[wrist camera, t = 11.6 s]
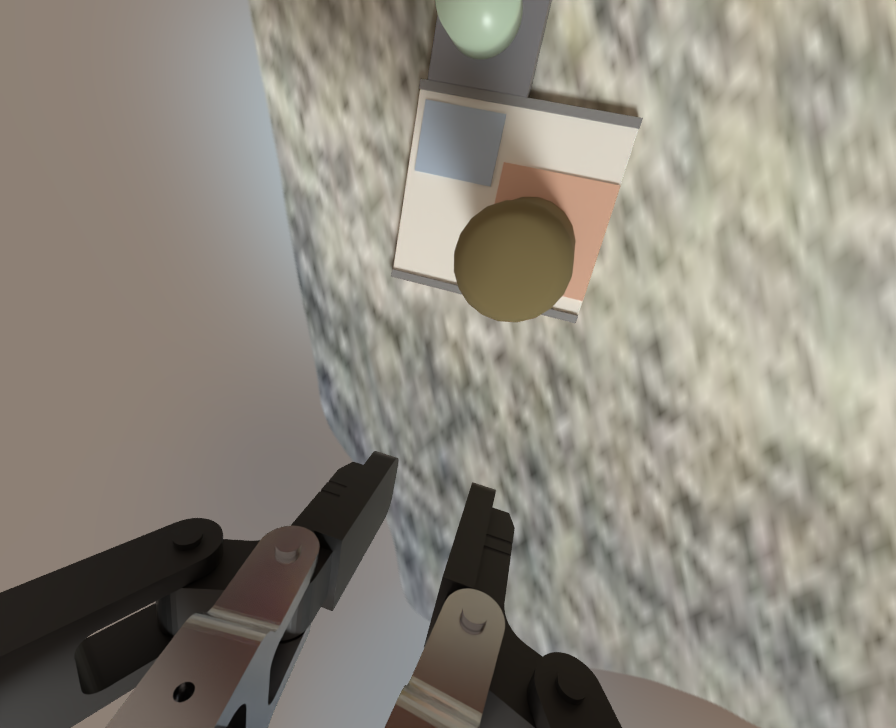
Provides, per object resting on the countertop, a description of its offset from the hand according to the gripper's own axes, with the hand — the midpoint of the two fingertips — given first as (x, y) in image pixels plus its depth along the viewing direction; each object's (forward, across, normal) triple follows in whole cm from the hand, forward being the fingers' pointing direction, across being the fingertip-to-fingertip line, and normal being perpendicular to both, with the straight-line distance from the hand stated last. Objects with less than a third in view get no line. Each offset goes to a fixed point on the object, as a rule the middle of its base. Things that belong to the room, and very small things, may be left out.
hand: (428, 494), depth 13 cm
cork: (+18, 0, -6) cm, 19 cm away
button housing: (+19, +5, -17) cm, 26 cm away
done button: (+17, +5, -17) cm, 24 cm away
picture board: (+19, +2, -8) cm, 21 cm away
